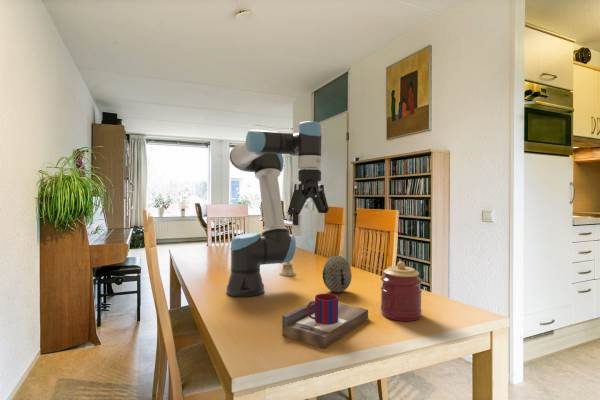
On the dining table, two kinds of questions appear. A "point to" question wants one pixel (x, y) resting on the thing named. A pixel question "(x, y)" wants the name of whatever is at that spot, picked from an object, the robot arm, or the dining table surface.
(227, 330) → the dining table surface
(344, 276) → the decorative egg
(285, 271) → the hand bell
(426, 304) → the dining table surface
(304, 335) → the memo pad holder
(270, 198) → the robot arm
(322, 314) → the mug
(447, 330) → the dining table surface
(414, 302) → the canister
